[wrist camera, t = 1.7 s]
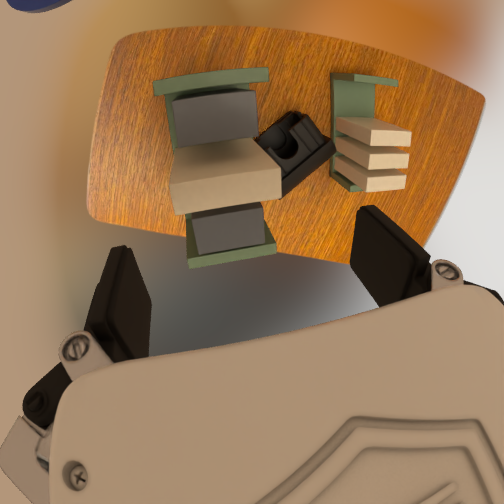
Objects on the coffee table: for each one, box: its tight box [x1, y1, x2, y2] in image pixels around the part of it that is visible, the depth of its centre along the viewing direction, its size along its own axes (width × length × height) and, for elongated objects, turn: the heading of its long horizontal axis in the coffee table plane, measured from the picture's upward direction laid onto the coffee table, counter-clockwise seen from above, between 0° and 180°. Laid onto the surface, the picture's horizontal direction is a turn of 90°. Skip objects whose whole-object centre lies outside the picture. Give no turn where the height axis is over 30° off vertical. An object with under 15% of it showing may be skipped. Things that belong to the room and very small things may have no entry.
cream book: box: [169, 137, 282, 215], centre depth 20 cm, size 2×6×9 cm, turn 94°
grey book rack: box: [153, 67, 277, 269], centre depth 26 cm, size 14×7×20 cm, turn 4°
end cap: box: [254, 111, 337, 200], centre depth 35 cm, size 10×7×7 cm
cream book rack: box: [330, 73, 411, 192], centre depth 33 cm, size 16×7×10 cm, turn 4°
